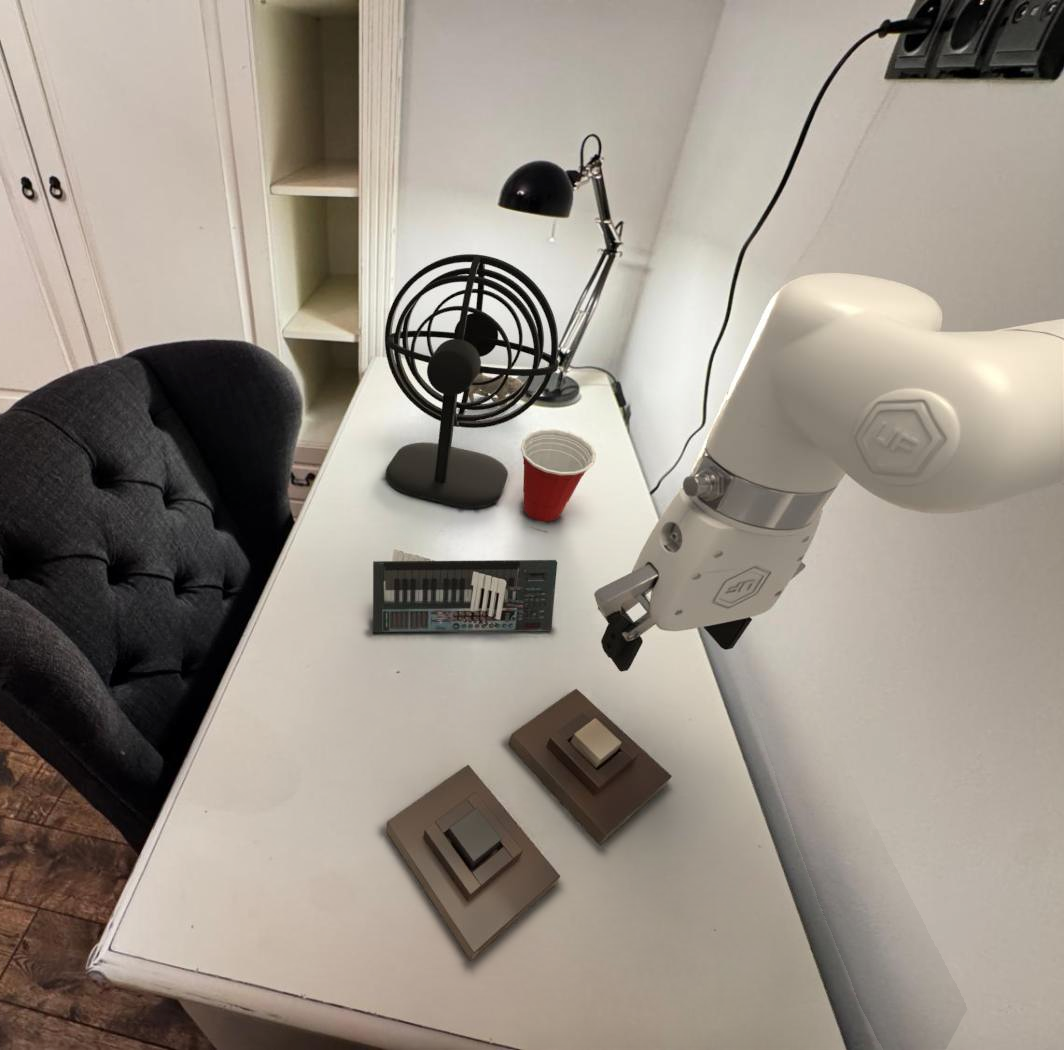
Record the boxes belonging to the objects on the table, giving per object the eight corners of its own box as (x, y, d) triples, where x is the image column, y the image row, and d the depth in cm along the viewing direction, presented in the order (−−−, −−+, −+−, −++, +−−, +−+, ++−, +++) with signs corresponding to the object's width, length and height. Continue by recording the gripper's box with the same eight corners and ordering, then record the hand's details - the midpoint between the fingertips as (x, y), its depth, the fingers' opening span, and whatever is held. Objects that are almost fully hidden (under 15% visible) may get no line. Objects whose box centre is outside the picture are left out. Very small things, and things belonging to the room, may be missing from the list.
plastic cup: (508, 529, 88) (523, 465, 80) (506, 488, 96) (519, 426, 88) (581, 536, 87) (602, 472, 79) (572, 494, 95) (591, 432, 87)
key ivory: (616, 751, 56) (622, 742, 55) (595, 768, 55) (600, 759, 54) (590, 726, 58) (595, 717, 57) (569, 742, 57) (574, 733, 56)
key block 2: (664, 786, 57) (678, 767, 55) (599, 845, 53) (611, 827, 51) (571, 699, 65) (580, 678, 62) (508, 744, 61) (514, 724, 58)
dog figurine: (463, 405, 118) (468, 371, 113) (467, 392, 122) (472, 360, 118) (522, 413, 116) (529, 379, 111) (524, 400, 120) (531, 367, 115)
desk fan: (536, 466, 101) (586, 256, 79) (516, 524, 89) (569, 294, 66) (393, 434, 109) (402, 235, 87) (357, 484, 97) (356, 267, 74)
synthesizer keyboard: (559, 555, 70) (555, 589, 62) (551, 625, 74) (547, 667, 65) (392, 537, 78) (367, 565, 69) (392, 601, 81) (368, 636, 72)
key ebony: (498, 847, 50) (502, 838, 48) (471, 869, 48) (473, 861, 47) (474, 815, 52) (476, 806, 51) (447, 835, 50) (449, 827, 49)
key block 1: (555, 884, 51) (565, 868, 48) (470, 961, 46) (477, 947, 44) (465, 774, 58) (470, 755, 56) (385, 831, 54) (387, 812, 51)
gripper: (676, 539, 33) (596, 705, 44) (918, 498, 36) (786, 663, 47) (605, 466, 38) (550, 630, 49) (820, 437, 41) (722, 597, 52)
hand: (665, 646), depth 48 cm, fingers open, 9 cm apart
